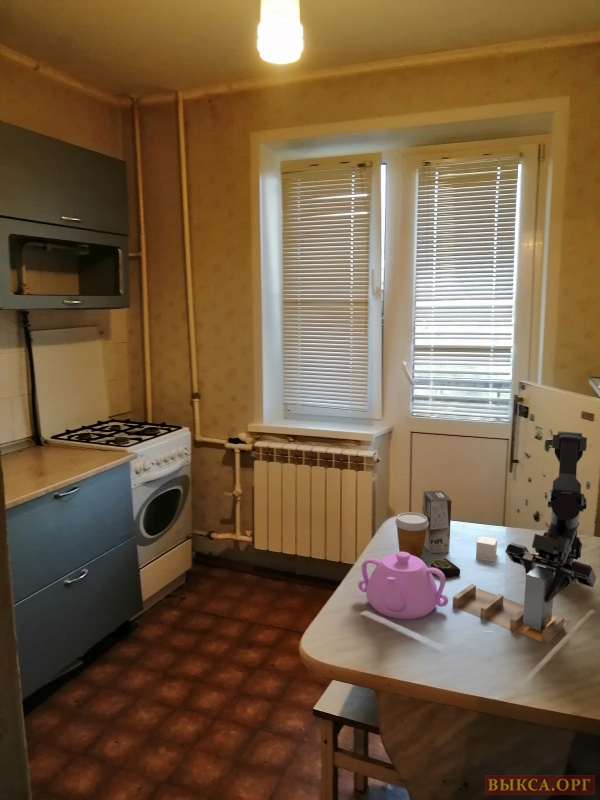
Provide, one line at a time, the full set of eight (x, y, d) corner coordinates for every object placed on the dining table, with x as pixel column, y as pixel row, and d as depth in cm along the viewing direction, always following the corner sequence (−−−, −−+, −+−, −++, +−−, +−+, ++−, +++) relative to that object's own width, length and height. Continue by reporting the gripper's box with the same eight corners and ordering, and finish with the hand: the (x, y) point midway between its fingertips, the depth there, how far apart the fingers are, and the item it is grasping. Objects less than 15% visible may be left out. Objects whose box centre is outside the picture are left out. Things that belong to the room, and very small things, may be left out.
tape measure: (461, 580, 162) (461, 567, 161) (438, 583, 160) (439, 570, 159) (447, 569, 168) (448, 556, 168) (425, 572, 166) (426, 559, 166)
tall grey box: (534, 613, 140) (537, 565, 138) (551, 620, 137) (555, 570, 135) (522, 624, 136) (526, 574, 134) (540, 631, 133) (544, 580, 131)
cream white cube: (478, 551, 179) (479, 535, 179) (496, 554, 177) (497, 538, 176) (475, 558, 175) (476, 542, 174) (493, 561, 173) (494, 545, 172)
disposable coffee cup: (432, 555, 177) (433, 515, 175) (420, 567, 169) (421, 526, 167) (401, 547, 182) (403, 509, 180) (388, 559, 174) (389, 519, 172)
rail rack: (477, 591, 155) (478, 579, 155) (569, 625, 140) (570, 611, 139) (452, 610, 146) (453, 596, 146) (546, 648, 131) (548, 633, 130)
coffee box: (450, 552, 179) (452, 500, 176) (428, 553, 178) (430, 501, 175) (440, 540, 188) (442, 490, 185) (420, 540, 187) (421, 490, 184)
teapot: (341, 625, 140) (342, 569, 138) (367, 583, 160) (368, 534, 157) (438, 645, 132) (441, 586, 130) (452, 599, 152) (454, 546, 149)
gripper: (511, 509, 142) (486, 569, 136) (595, 531, 129) (572, 598, 123) (524, 531, 149) (500, 589, 143) (605, 554, 136) (583, 619, 130)
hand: (536, 598), depth 134 cm, fingers closed on tall grey box, 4 cm apart
